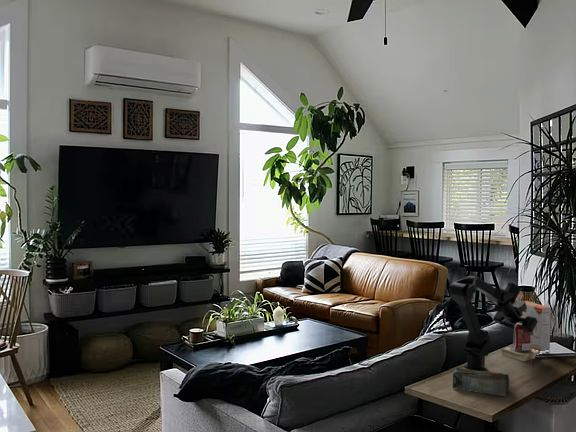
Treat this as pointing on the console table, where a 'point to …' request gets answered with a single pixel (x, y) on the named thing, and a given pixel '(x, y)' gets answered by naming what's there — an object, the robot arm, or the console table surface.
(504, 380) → the grey rectangular block
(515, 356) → the beige square dish
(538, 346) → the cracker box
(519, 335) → the soda can
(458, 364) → the console table surface
